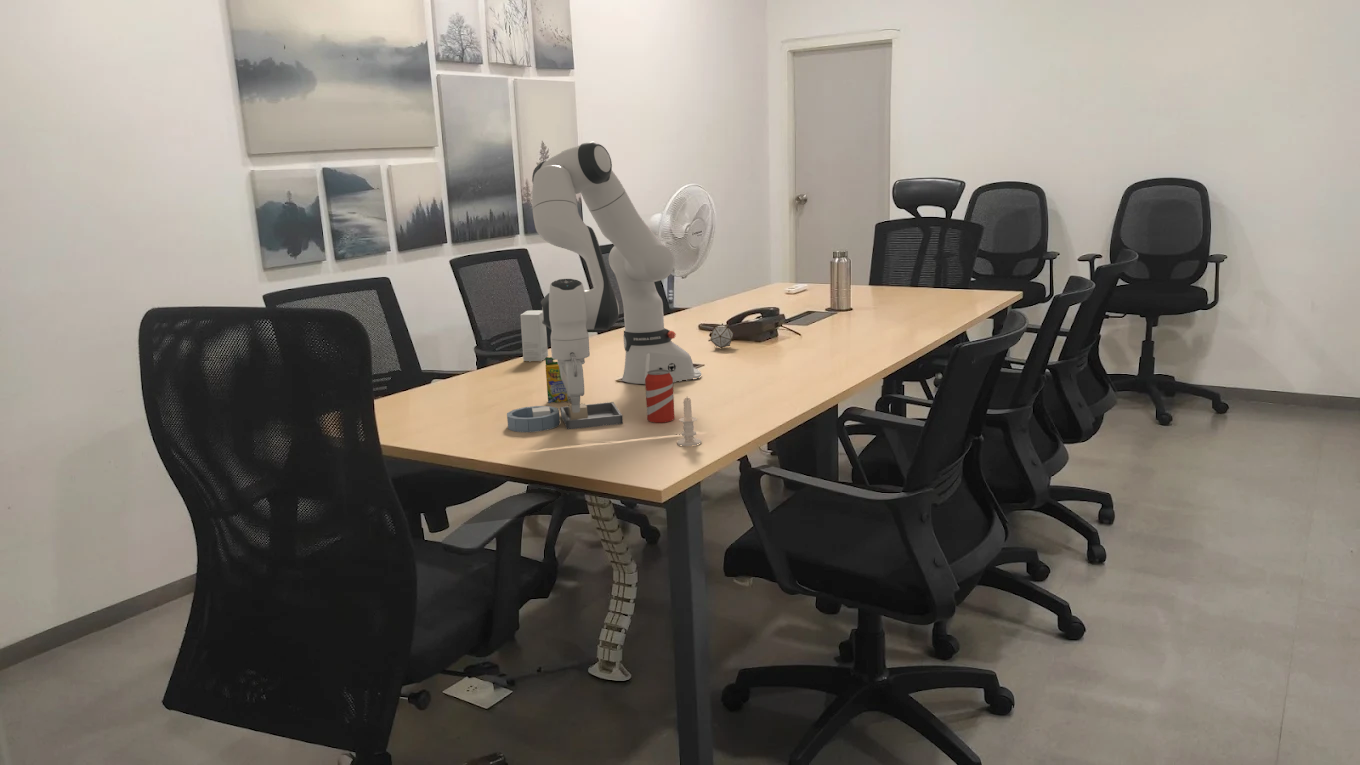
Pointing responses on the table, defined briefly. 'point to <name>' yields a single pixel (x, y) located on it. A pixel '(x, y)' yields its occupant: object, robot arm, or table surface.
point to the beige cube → (578, 415)
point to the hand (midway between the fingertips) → (573, 407)
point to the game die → (721, 336)
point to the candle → (688, 426)
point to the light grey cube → (540, 411)
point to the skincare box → (533, 336)
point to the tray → (594, 416)
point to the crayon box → (554, 382)
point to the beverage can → (659, 396)
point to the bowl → (532, 420)
